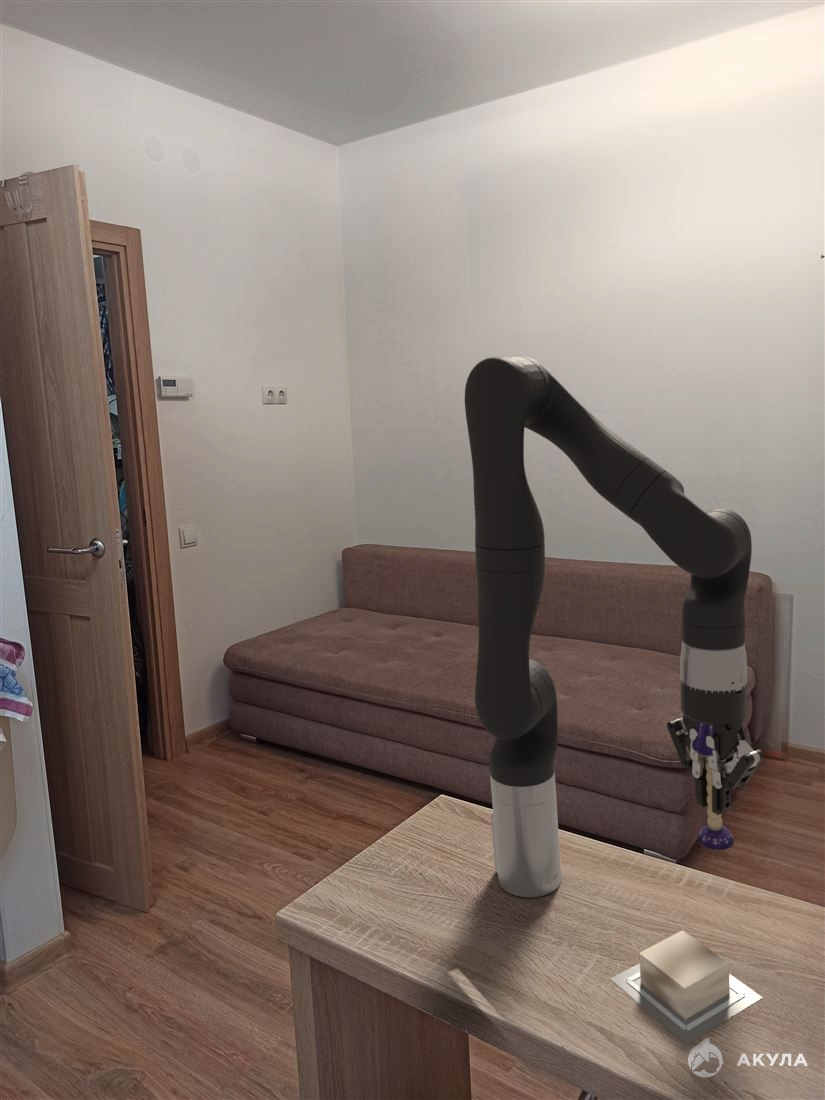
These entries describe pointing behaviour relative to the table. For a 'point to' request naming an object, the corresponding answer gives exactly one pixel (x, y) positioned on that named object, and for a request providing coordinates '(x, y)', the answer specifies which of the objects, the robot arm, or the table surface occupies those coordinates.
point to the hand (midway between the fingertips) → (713, 807)
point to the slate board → (698, 1022)
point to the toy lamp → (710, 798)
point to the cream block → (684, 974)
